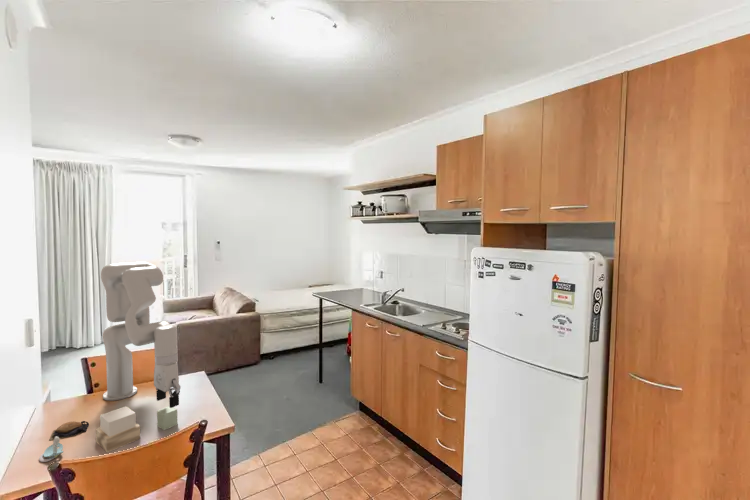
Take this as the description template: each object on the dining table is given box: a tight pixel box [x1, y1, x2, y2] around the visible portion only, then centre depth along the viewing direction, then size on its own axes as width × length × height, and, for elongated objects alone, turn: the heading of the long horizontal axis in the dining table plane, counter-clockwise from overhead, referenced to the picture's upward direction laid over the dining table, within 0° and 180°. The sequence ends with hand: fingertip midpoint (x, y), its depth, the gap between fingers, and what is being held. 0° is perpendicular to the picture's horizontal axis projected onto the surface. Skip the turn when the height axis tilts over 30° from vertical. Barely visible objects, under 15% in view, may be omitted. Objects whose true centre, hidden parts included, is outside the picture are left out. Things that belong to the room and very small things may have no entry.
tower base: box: [95, 422, 141, 453], centre depth 128 cm, size 10×10×5 cm
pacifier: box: [38, 436, 64, 463], centre depth 119 cm, size 7×6×6 cm
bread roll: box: [48, 420, 90, 441], centre depth 133 cm, size 11×8×4 cm
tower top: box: [99, 405, 137, 437], centre depth 128 cm, size 8×8×5 cm
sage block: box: [156, 405, 178, 431], centre depth 138 cm, size 5×5×6 cm
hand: (167, 402), depth 138 cm, fingers open, 9 cm apart
